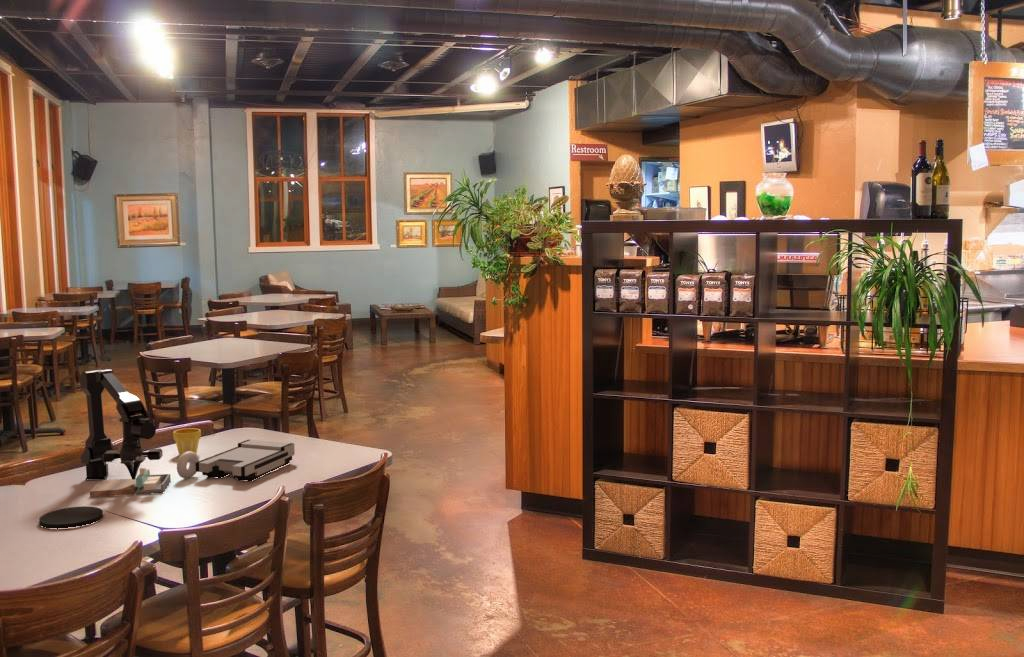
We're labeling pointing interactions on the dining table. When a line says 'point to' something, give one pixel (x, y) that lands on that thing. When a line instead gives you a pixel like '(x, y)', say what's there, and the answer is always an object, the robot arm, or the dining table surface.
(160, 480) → the tile
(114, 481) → the walnut board
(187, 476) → the donut
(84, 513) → the wireless charger
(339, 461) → the dining table surface
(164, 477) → the box
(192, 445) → the plant pot
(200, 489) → the dining table surface
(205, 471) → the game console
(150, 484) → the tile
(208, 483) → the dining table surface
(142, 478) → the long mint beam
